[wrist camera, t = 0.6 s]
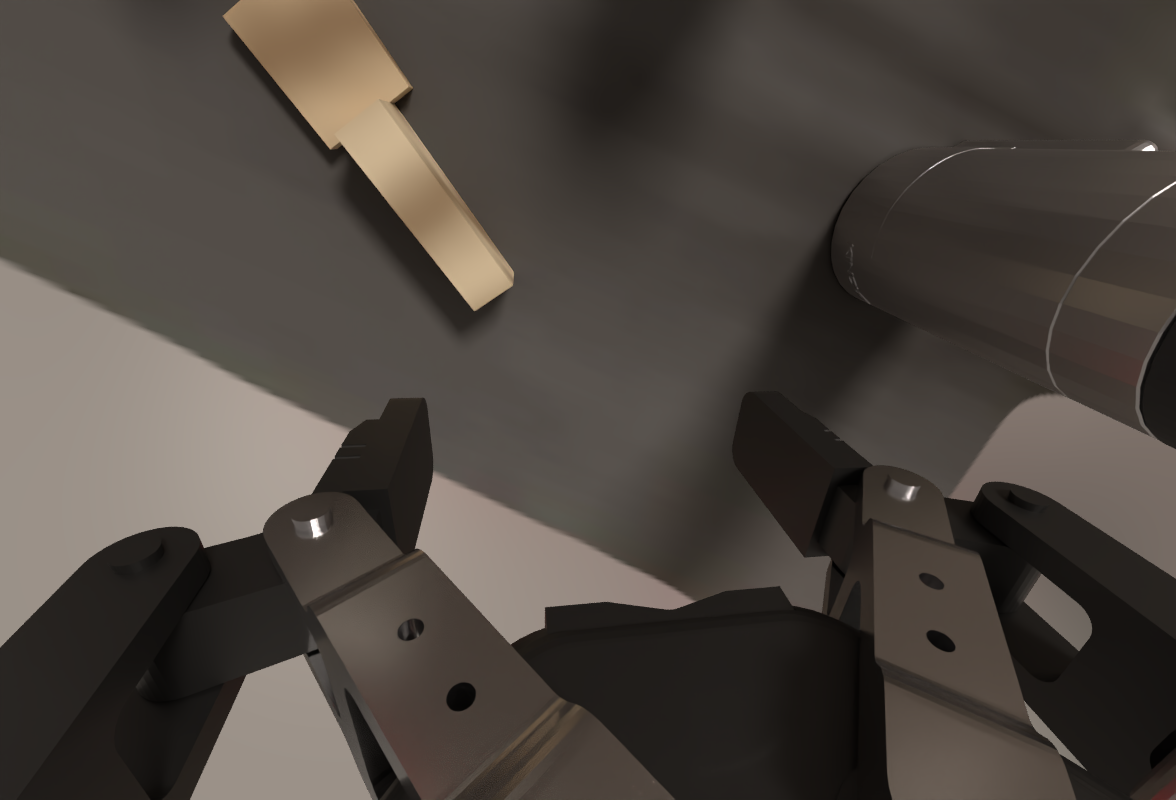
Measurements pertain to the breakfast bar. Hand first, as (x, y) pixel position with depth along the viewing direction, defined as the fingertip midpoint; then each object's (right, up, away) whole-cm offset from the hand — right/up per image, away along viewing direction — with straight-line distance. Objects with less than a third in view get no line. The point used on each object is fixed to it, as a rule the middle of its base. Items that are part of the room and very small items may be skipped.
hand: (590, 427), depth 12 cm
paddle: (-10, +13, +13) cm, 21 cm away
